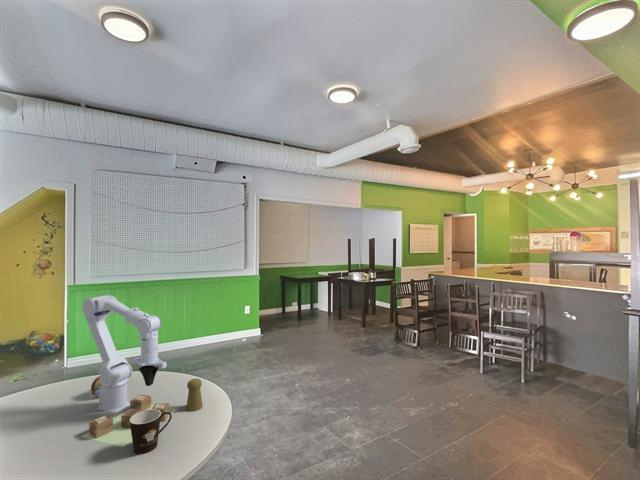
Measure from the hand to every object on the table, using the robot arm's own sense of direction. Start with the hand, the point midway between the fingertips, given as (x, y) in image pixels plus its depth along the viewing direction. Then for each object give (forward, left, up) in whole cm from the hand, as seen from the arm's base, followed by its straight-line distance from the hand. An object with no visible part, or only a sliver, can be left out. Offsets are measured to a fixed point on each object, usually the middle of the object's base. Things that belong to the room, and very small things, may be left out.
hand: (149, 384), depth 122 cm
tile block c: (-5, 0, -10) cm, 11 cm away
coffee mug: (+17, -17, -11) cm, 26 cm away
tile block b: (+7, -3, -10) cm, 13 cm away
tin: (-30, +8, -11) cm, 33 cm away
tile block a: (-5, -16, -10) cm, 19 cm away
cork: (+14, +7, -11) cm, 19 cm away
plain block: (+1, -9, -10) cm, 13 cm away
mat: (0, -8, -10) cm, 13 cm away
